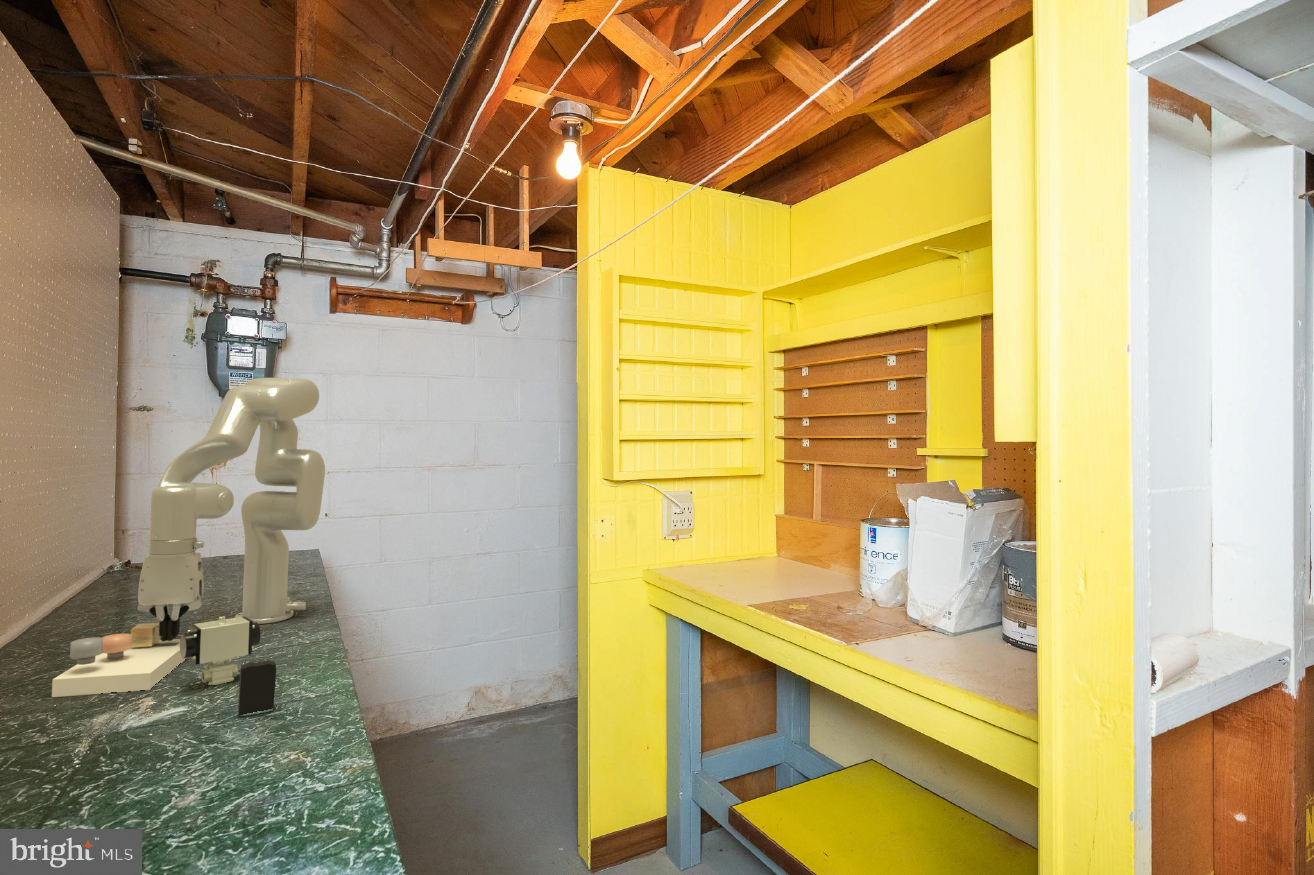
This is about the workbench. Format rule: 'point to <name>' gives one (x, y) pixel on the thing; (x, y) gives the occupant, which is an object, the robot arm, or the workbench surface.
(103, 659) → the control panel
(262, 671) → the ink cartridge
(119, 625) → the workbench surface
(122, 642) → the terracotta button
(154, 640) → the brass slider
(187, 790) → the workbench surface
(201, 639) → the pneumatic valve
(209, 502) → the robot arm
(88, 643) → the grey button
